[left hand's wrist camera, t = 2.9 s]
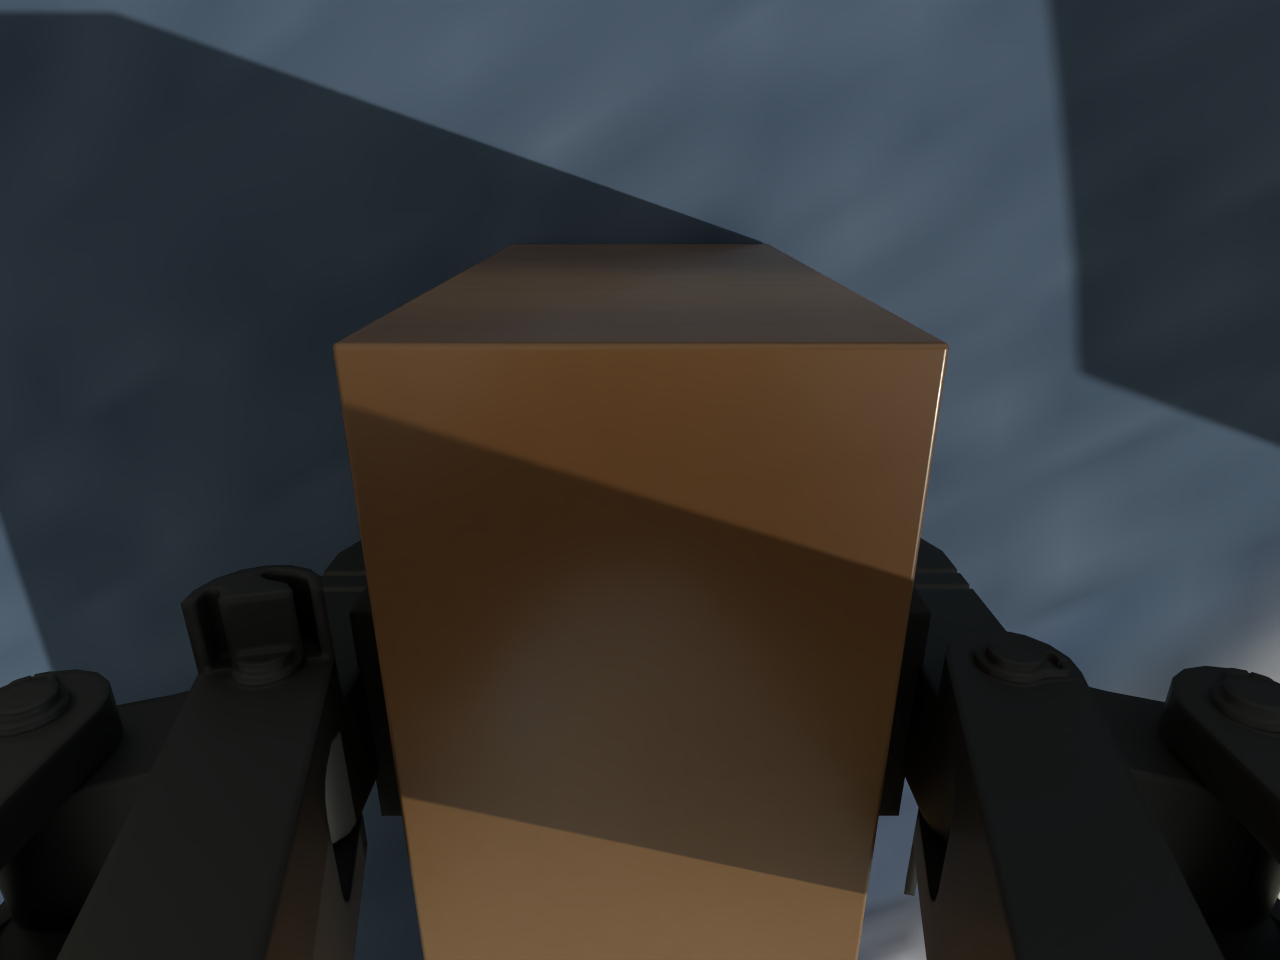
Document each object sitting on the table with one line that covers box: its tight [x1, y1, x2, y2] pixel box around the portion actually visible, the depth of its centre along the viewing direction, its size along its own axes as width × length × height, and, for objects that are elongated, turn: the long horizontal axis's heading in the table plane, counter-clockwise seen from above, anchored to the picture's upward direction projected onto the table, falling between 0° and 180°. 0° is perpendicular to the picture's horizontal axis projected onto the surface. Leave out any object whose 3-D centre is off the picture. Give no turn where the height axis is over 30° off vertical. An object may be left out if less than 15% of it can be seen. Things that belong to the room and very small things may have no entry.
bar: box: [333, 244, 949, 960], centre depth 14 cm, size 23×4×8 cm, turn 0°
